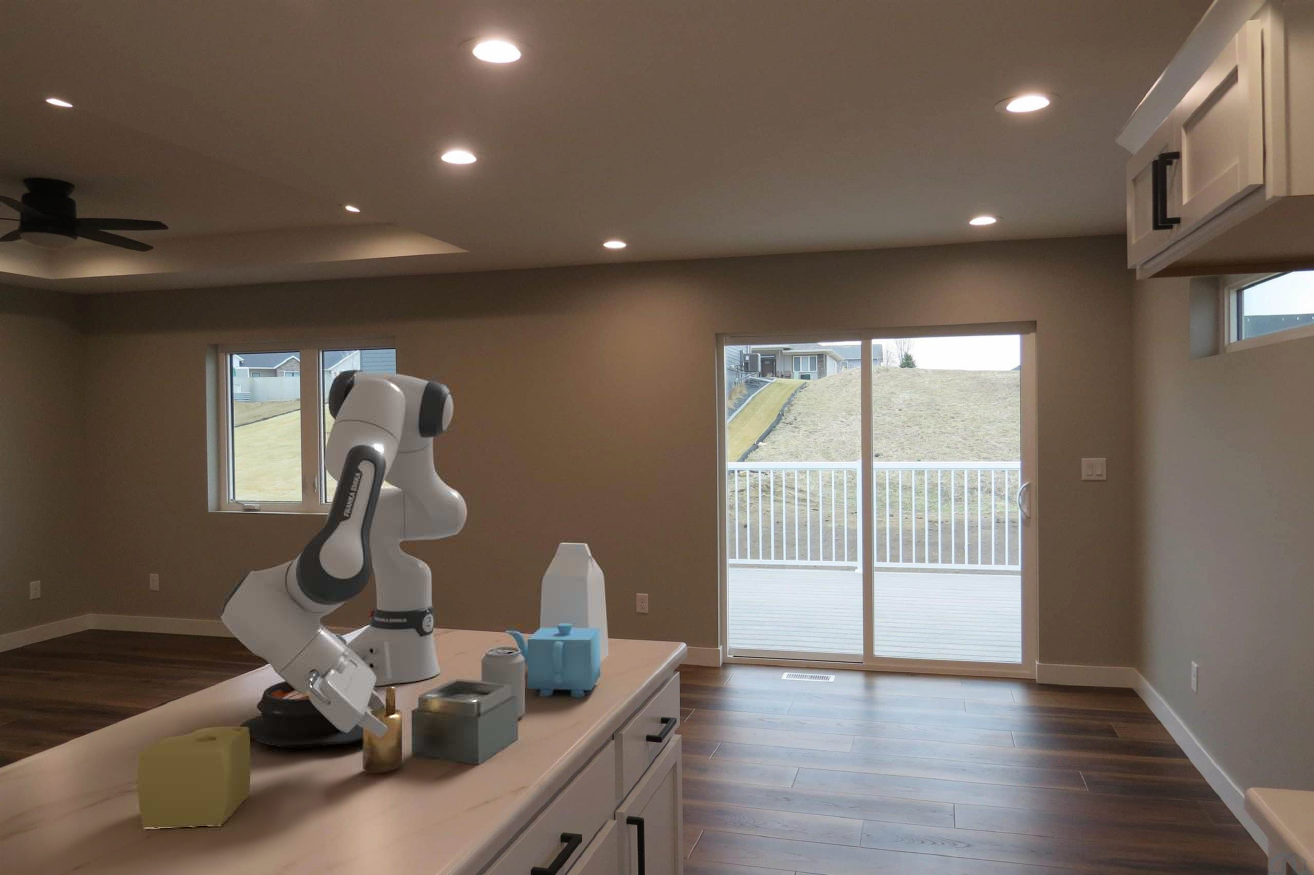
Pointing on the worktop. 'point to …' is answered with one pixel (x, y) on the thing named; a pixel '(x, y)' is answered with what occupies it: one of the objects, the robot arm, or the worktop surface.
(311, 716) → the casserole
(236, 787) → the cheese
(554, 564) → the milk
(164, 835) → the worktop surface
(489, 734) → the grey square box
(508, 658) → the can
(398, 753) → the spout can
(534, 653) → the teapot
